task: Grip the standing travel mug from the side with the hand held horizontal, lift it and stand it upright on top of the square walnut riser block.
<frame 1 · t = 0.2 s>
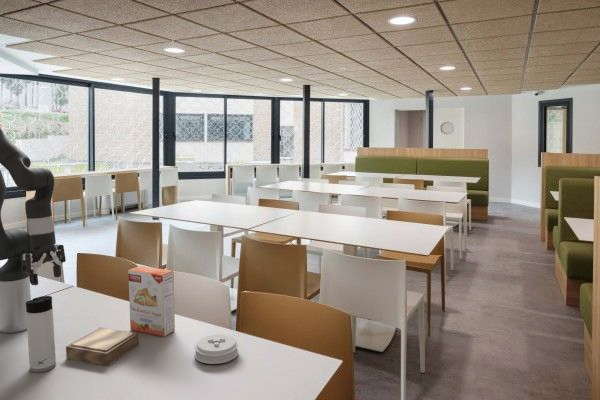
hand: (46, 280, 143), 17 cm above the table, tool pointing down, fingers open, 8 cm apart
walnut riser: (103, 351, 133), on the table
cracker box: (152, 331, 148), on the table
lid: (216, 356, 131), on the table
travel mug: (43, 367, 123), on the table
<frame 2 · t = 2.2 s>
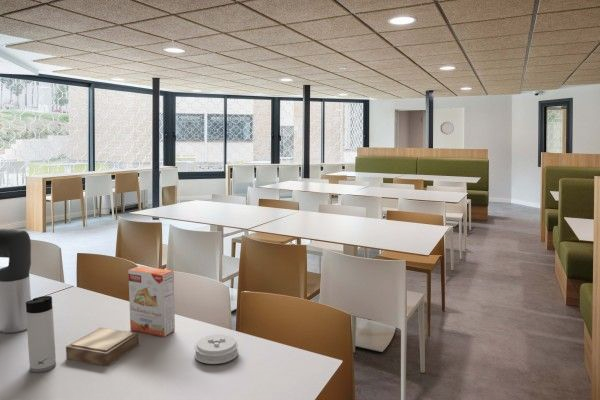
nothing on the table moved.
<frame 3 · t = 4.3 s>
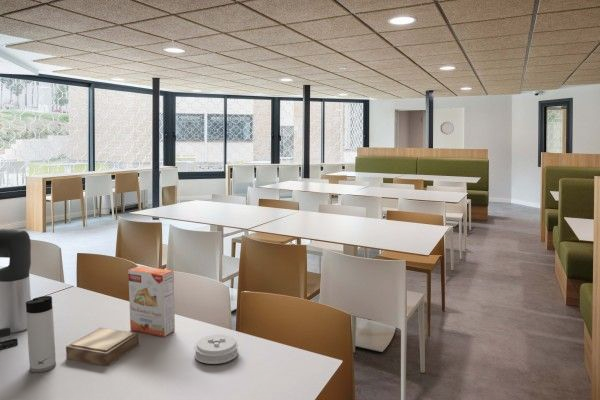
hand: (13, 336, 117), 11 cm above the table, tool horizontal, fingers open, 8 cm apart
nothing on the table moved.
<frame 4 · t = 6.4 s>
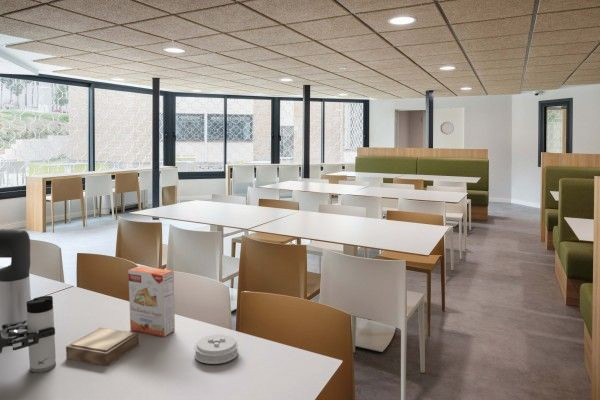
hand: (50, 326, 123), 11 cm above the table, tool horizontal, fingers closed on travel mug, 6 cm apart
travel mug: (43, 367, 123), on the table, touching gripper
everything else where it was.
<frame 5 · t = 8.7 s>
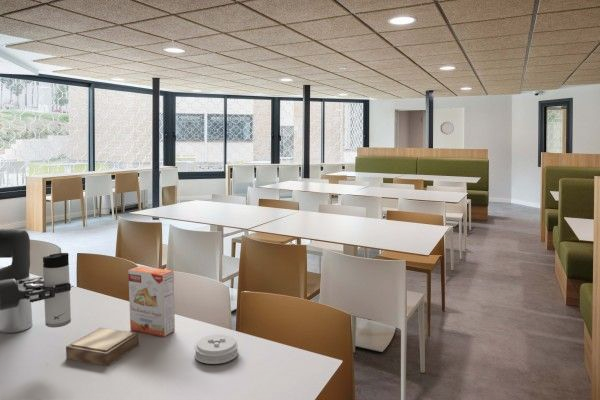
hand: (66, 283, 125), 23 cm above the table, tool horizontal, fingers closed on travel mug, 6 cm apart
travel mug: (58, 324, 124), point 11 cm above the table, touching gripper
everything else where it was.
when the fingers open (16 cm above the table, at t = 11.4 s): travel mug drops 1 cm, resting on walnut riser.
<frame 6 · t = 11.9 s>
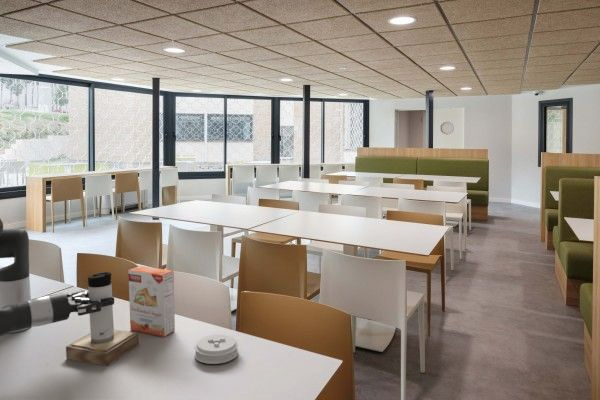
hand: (108, 296, 132), 16 cm above the table, tool horizontal, fingers open, 8 cm apart
travel mug: (103, 339, 132), point 4 cm above the table, touching walnut riser
everything else where it was.
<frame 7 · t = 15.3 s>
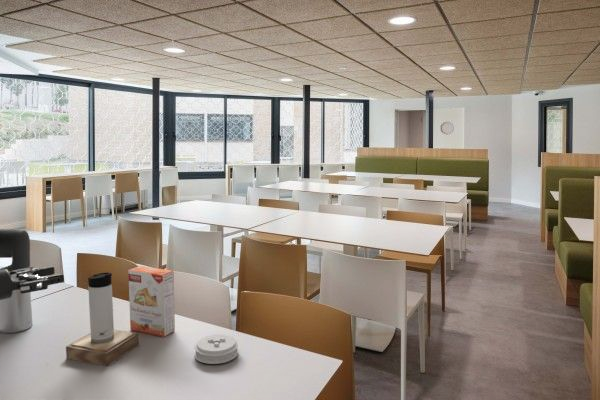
hand: (58, 273, 122), 26 cm above the table, tool horizontal, fingers open, 8 cm apart
nothing on the table moved.
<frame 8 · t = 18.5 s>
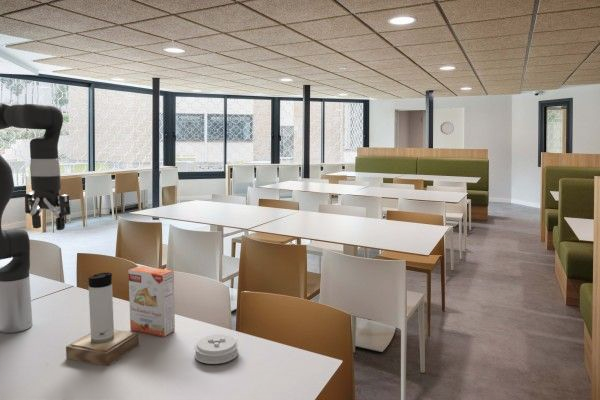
hand: (48, 228, 132), 36 cm above the table, tool pointing down, fingers open, 8 cm apart
nothing on the table moved.
at the end: travel mug inside the target area on the walnut riser (0.4 cm from its centre), point 3.8 cm above the walnut riser's base; travel mug tilted 0°; the gripper is holding nothing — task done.
